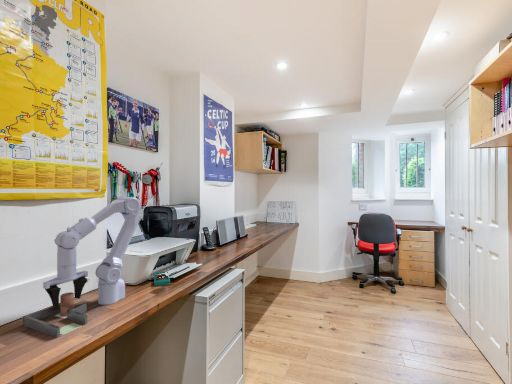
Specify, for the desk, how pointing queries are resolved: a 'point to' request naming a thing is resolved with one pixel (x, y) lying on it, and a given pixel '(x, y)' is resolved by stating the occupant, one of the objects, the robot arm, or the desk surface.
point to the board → (67, 328)
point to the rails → (34, 318)
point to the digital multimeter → (161, 279)
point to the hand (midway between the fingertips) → (66, 301)
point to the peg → (66, 303)
